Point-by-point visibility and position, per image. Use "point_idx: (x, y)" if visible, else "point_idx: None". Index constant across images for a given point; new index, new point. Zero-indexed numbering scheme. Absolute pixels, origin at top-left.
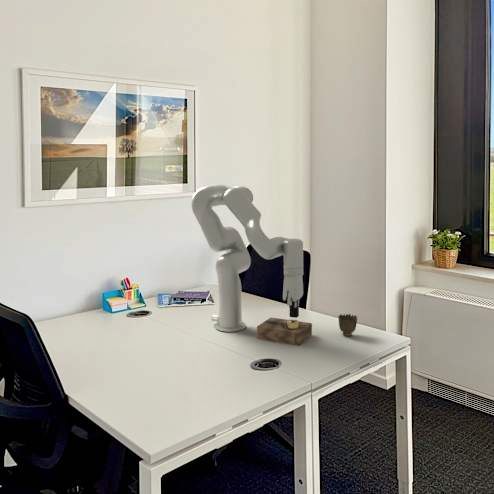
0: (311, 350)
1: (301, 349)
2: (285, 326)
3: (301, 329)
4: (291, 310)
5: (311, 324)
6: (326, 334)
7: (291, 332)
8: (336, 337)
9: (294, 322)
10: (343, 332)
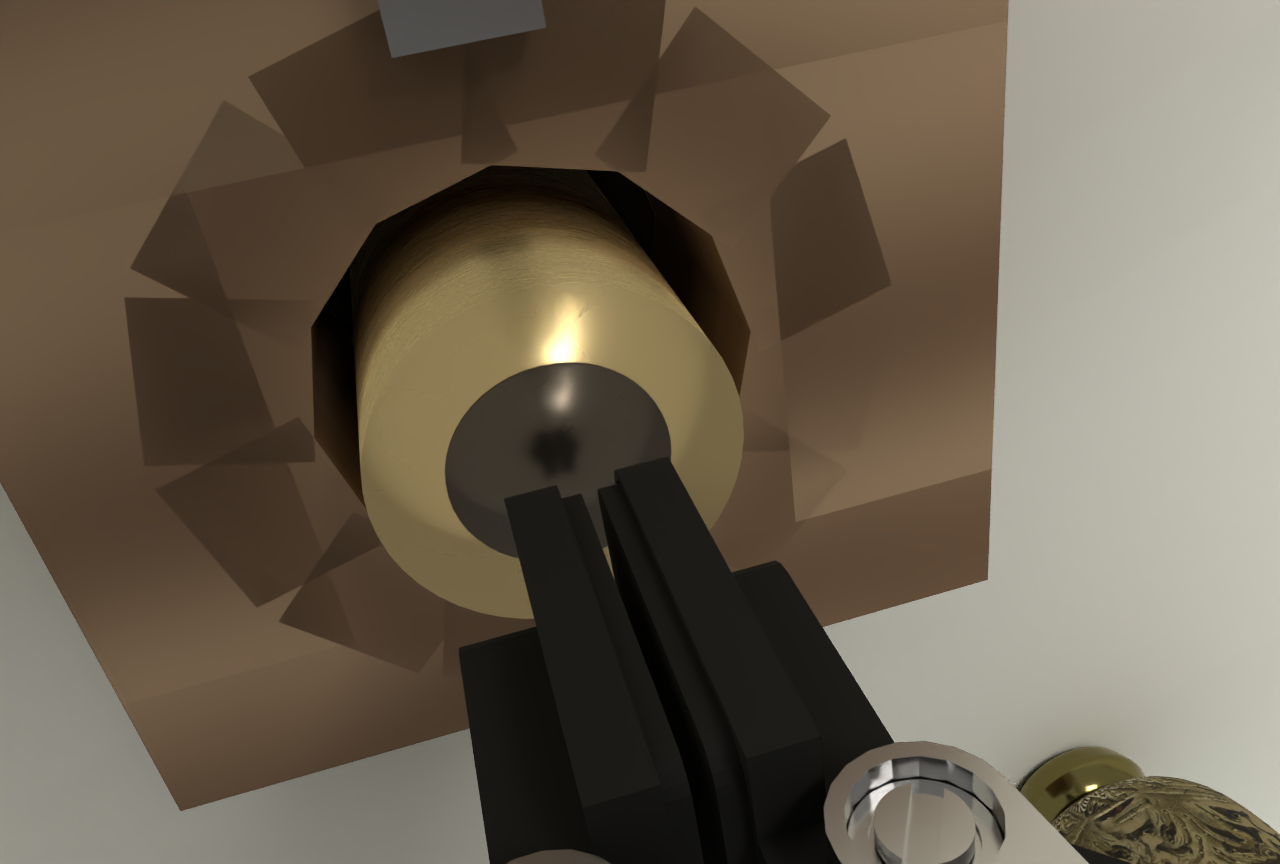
0: (172, 843)
1: (68, 729)
2: (348, 240)
3: (434, 690)
4: (491, 827)
5: (948, 573)
6: (1006, 576)
7: (87, 625)
8: (938, 738)
9: (485, 564)
10: (1069, 800)
